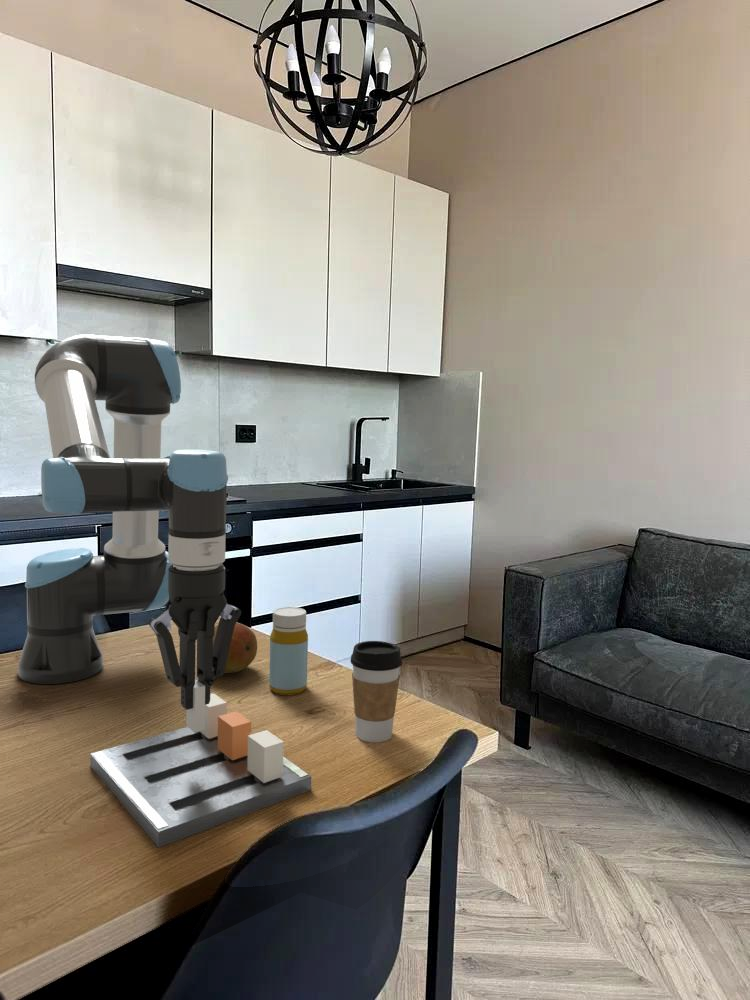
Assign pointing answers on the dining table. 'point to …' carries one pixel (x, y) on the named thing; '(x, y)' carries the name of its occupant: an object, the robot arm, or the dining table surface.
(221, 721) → the block
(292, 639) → the bottle
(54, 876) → the dining table surface
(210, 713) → the block
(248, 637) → the fruit
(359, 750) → the dining table surface
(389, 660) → the coffee cup
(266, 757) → the block
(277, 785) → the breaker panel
